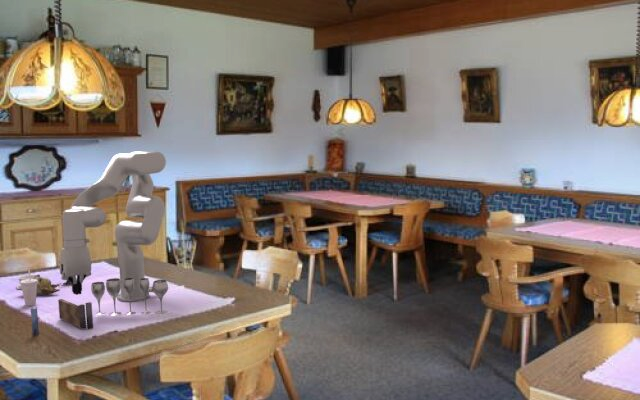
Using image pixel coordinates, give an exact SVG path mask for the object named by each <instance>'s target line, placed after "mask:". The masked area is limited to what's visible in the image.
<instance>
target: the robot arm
mask: <svg viewBox="0 0 640 400" xmlns="http://www.w3.org/2000/svg"><path fill="white" fill-rule="evenodd" d="M166 164H167V160H166V156H165V155H164V154H163V153H162V152H159V151H143V150H141V151H140V150H138V151H132V152H130V153H123V152H122V153H117V154H115V155H114V156H112V158H111V159H110V161H109V162H108V164H107V166H106V167H105V169H104V170H103V172H102V174H101V176H100V177H99V179H98V180H97V181H96V182H95V183H93V184H91V185H90V186H89V187H87V188H85V189H84V190H83V191H81V193H79V195H78V196H76V198H75V200H74V201H73V202H72V204H71V205H70V208H68V209H64V211H63V212H62V233H63V234H62V235H63V236H62V237H63V247H62V248H61V250H60V255H59V257H60V258H59V261H60V263H59V274H60V275H61V276H60V277H61V280H63V281H67V280H68V281H70V282H71V283H72V285H71V291H72V294H73V295H77V296H78V295H82V291H83V283H84V280H85V279H86V278H88V277H90V276H91V275H92V272H91V271H92V259H91V254H90V250H89V247H88V246H87V244H88V243H90V239H89V238H87V235H86V233H87V231H86V229H87V228H99V227H101V226H103V225H104V224H105V222H106V220H107V213H106V211H105V210H104V209H103V208H101V207H99V206H98V207H96V206H94V205H95V204H96V203H98V202H100V201H103V200H105V199H108V198H111V197H113V196H116V195H117V194H118V193H119V192H120V190H121V188H122V186H123V185H124V184H125V182H126V180H127V178H128V177H129V176H131V179H132V186H131V189H130V192H129V195H128V199H127V203H126V206H125V213H126V215H127V216H128V217H129V218H132V219H125V220H121V221H119V222H118V223H117V224H116V226H115V228H114V237H115V242H116V245H117V252H118V264H119V268H118V269H119V279H120V282H121V289H120V292H119V294H118V295H117V297H116V300H118V301H121V302H129V298H128V296H127V294H126V292H125V289H124V279H126V278H133V280H134V291H133V294H132V296H131V302H137V301H142V300H145V299H144V296H143V294H142V292H141V289H140V279H142V278H146V276H145V262H144V261H145V260H144V259H145V258H144V252H143V249H142V247H141V246H151V245H153V244H154V243H155V242H156V241H157V239H158V236H159V234H160V230H161V226H162V222H163V219H164V215H165V210H166V209H165V203H164V200H163V199H162V198H161V197H160V196H157V195H153V191H154V187H155V185H154V182H153V181H154V180H153V179H152V176H151V175H152V174H153V175H154V174H158V173H159V174H160V173H161V172H163V170H164V169H165V168H166ZM134 219H141V220H134ZM142 219H143V220H142ZM67 276H68V277H67ZM150 293H154V292H153V290H152V286H149V291H148V294H147V297H146V299H148V298H149V297H150Z"/></svg>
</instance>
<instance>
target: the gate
mask: <svg viewBox="0 0 640 400" xmlns="http://www.w3.org/2000/svg"><path fill="white" fill-rule="evenodd" d="M57 302H58V314H59V319H60V320H63V321H65V322H67V323H70V324H71V325H73V326H76V327H78V328H79V329H81V330H83V329H87V319H86V304H78V305H77V304H75V303H74V302H73V303H72V302H70V301H69V300H68V301H67V300H65V299H63V298H59V299H58V300H57Z"/></svg>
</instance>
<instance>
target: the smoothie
mask: <svg viewBox="0 0 640 400" xmlns="http://www.w3.org/2000/svg"><path fill="white" fill-rule="evenodd" d="M27 271H28V275H29V279H26V280H22V281H20V282H19V286H20V285H21V287H22V289H21V290H22V295H23V299H24V305H25V307H33V306H36V305H37V294H36V291H37V283H38V280H37V279H31V277H30V275H31V270H30V269H28V270H27ZM35 304H36V305H35Z"/></svg>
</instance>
